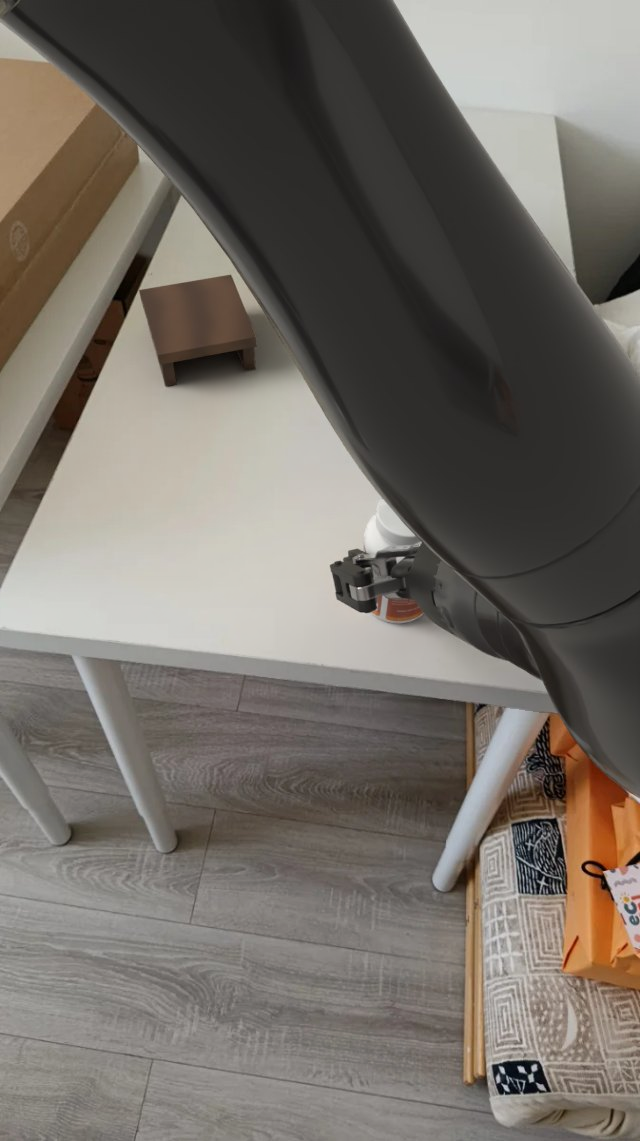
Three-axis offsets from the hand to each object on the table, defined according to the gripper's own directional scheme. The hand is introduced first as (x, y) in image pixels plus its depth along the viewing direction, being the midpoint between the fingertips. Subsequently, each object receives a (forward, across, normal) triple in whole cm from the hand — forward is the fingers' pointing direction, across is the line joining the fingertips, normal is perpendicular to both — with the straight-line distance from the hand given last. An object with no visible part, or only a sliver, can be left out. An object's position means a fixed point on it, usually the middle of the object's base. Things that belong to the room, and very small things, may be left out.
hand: (406, 550), depth 59 cm
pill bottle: (+6, 0, +5) cm, 7 cm away
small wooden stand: (+31, +9, -21) cm, 38 cm away
